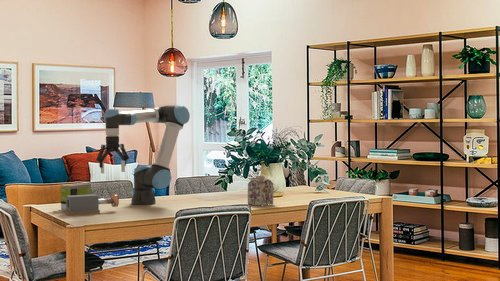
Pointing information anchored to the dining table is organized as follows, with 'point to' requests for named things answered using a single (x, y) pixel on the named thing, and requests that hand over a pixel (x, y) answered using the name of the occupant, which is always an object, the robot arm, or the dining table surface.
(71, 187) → the tea box
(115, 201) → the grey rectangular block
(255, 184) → the decorative jar
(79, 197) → the block
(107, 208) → the dining table surface
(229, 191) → the dining table surface
